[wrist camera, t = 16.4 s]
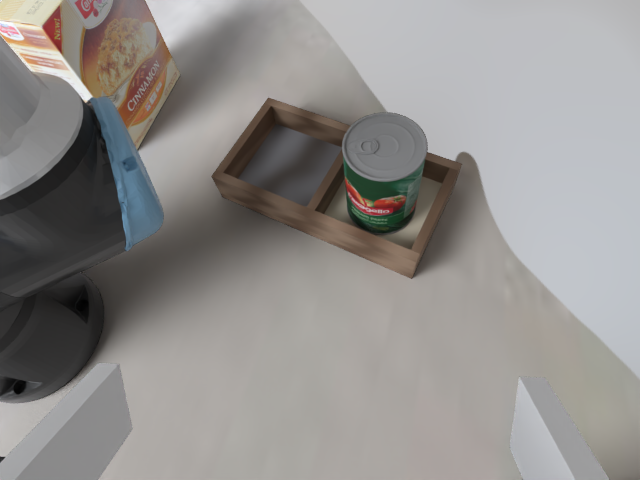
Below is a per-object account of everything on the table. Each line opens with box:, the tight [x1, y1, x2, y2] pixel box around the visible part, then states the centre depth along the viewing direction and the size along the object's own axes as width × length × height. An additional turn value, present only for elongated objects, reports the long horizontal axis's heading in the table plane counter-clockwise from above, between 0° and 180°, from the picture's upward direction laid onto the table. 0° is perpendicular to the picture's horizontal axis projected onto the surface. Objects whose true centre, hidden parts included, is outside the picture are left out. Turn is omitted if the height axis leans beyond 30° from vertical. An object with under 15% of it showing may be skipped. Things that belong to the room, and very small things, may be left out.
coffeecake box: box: [0, 0, 180, 149], centre depth 54 cm, size 15×7×20 cm, turn 163°
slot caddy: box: [211, 98, 462, 279], centre depth 51 cm, size 25×13×4 cm, turn 63°
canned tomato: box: [342, 113, 428, 235], centre depth 45 cm, size 8×8×11 cm
